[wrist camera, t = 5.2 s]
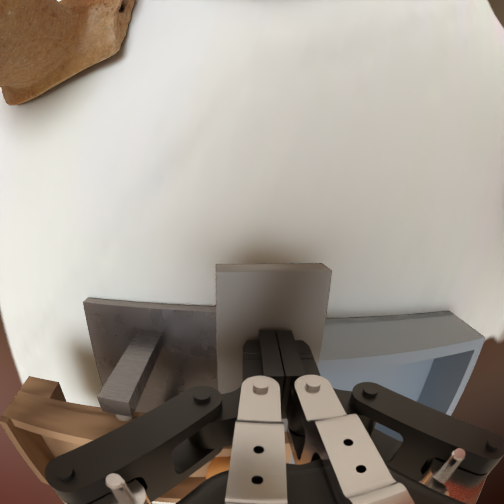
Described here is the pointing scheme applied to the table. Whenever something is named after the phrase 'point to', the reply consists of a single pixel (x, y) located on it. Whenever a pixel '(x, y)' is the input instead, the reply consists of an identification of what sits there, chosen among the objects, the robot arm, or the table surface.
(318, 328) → the chute
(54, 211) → the table surface
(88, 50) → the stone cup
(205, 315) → the stand
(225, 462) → the ball
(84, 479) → the robot arm
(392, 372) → the bin
